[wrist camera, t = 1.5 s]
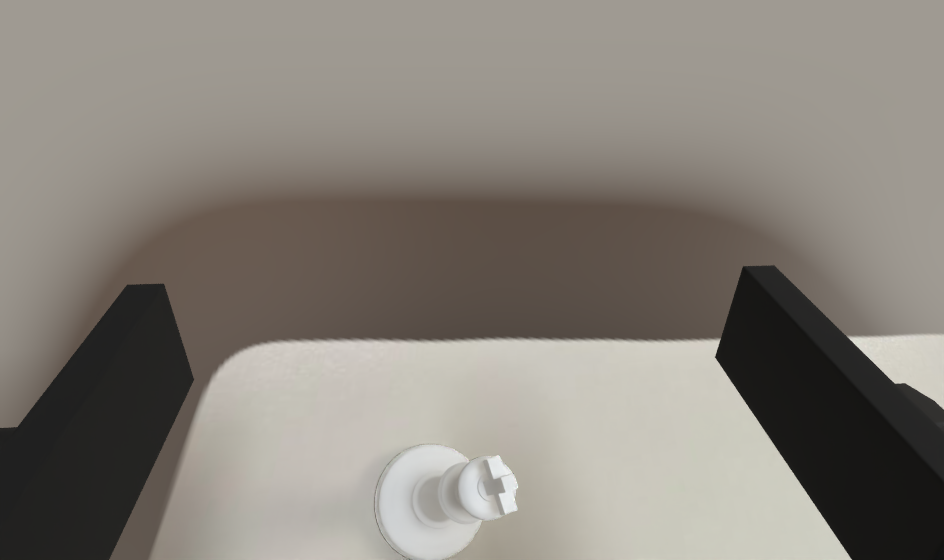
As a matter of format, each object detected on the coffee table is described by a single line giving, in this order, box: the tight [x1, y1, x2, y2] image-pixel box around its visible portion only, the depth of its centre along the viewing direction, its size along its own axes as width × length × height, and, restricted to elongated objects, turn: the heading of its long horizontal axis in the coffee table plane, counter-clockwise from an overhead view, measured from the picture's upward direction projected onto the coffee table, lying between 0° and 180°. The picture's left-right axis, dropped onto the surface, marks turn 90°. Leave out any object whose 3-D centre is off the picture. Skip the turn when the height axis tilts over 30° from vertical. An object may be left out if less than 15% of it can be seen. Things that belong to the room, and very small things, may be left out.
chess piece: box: [375, 444, 518, 560], centre depth 22 cm, size 5×5×10 cm
